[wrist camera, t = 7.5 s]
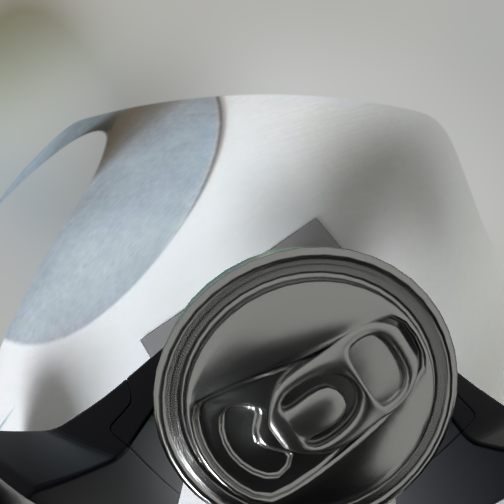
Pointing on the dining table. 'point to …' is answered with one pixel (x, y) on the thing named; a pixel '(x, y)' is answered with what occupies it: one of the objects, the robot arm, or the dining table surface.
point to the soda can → (305, 381)
